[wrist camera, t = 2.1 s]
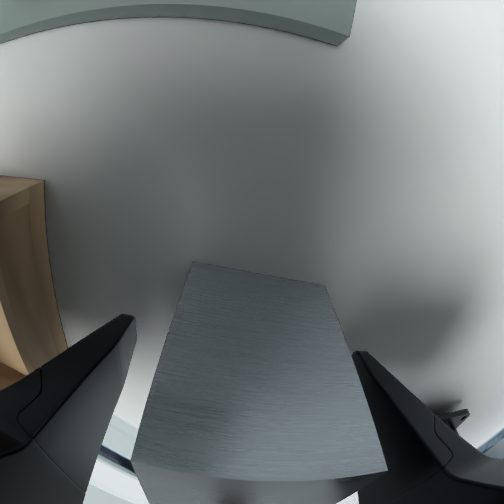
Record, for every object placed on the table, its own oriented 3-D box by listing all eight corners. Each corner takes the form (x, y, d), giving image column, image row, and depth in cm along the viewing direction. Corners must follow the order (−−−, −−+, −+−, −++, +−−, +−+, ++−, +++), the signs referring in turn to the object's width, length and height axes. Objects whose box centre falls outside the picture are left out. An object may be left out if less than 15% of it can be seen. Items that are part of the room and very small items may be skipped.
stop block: (324, 285, 9) (388, 470, 3) (288, 370, 10) (304, 519, 5) (192, 261, 8) (131, 460, 3) (183, 355, 10) (151, 508, 5)
